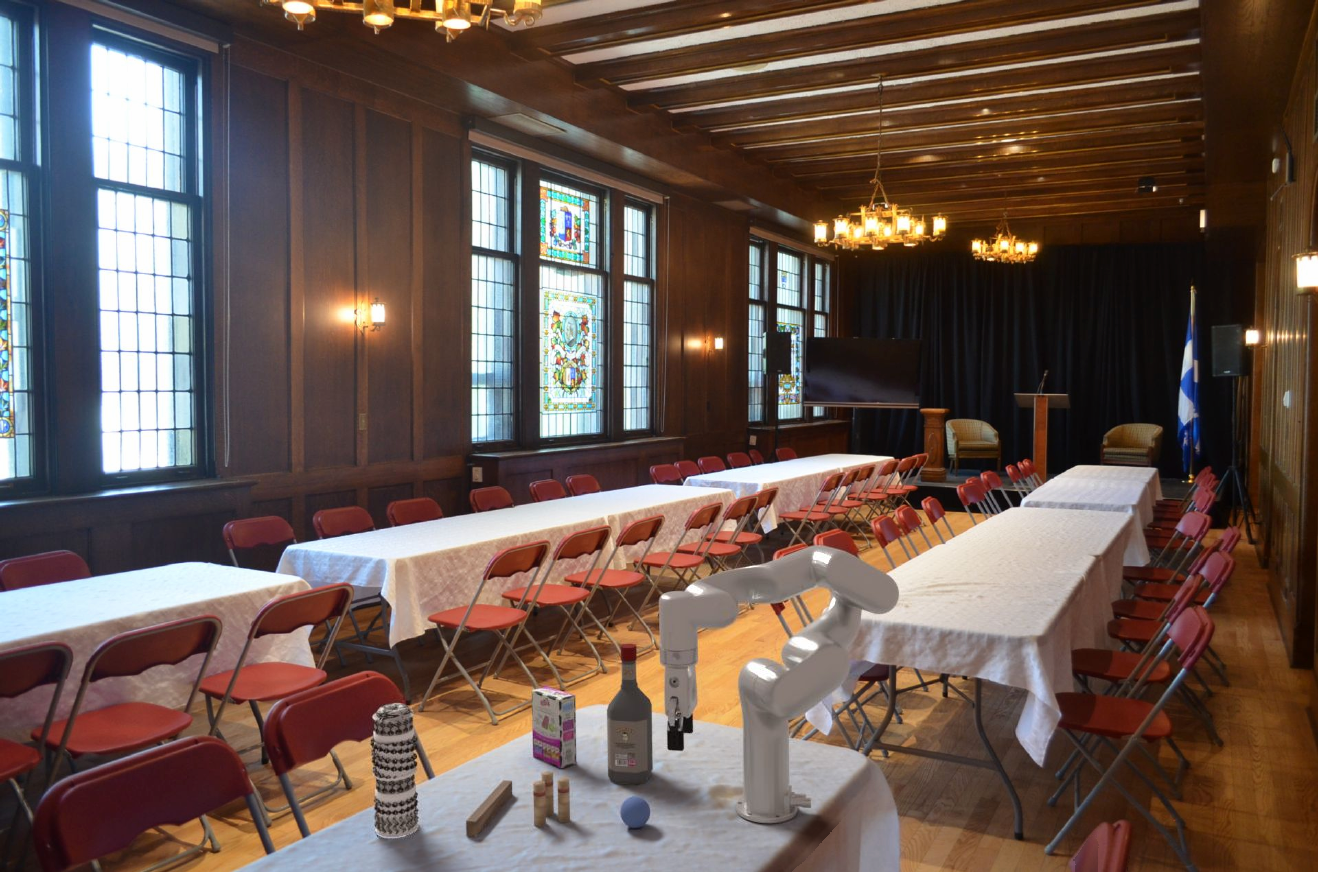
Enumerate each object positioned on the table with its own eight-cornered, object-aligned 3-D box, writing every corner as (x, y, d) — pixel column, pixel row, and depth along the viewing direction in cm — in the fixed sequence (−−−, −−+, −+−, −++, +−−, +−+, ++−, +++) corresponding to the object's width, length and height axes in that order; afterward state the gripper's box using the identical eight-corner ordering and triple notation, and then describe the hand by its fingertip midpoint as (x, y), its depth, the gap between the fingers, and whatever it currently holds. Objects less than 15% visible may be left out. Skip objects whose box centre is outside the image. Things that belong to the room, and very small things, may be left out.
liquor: (646, 785, 216) (643, 652, 214) (605, 783, 217) (603, 650, 216) (654, 769, 225) (652, 641, 223) (615, 767, 226) (613, 639, 225)
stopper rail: (512, 794, 212) (512, 780, 212) (475, 836, 193) (475, 821, 193) (503, 793, 213) (503, 779, 213) (466, 835, 193) (466, 820, 193)
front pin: (571, 818, 200) (570, 777, 200) (568, 823, 198) (567, 782, 197) (560, 817, 201) (559, 776, 200) (556, 822, 198) (555, 781, 198)
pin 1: (547, 821, 199) (546, 780, 198) (543, 827, 196) (542, 785, 196) (536, 820, 199) (535, 779, 199) (532, 826, 197) (531, 784, 196)
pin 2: (555, 811, 204) (554, 771, 203) (551, 816, 201) (550, 775, 201) (544, 810, 204) (543, 770, 204) (540, 815, 202) (539, 774, 201)
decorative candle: (373, 842, 191) (369, 717, 189) (373, 822, 200) (369, 702, 198) (421, 836, 193) (417, 712, 192) (419, 816, 202) (415, 697, 201)
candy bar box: (578, 763, 229) (576, 694, 228) (561, 769, 225) (559, 699, 224) (548, 751, 237) (547, 684, 236) (531, 756, 233) (530, 689, 232)
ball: (653, 820, 198) (652, 792, 198) (646, 834, 193) (646, 804, 192) (624, 818, 200) (624, 789, 199) (617, 831, 194) (616, 802, 193)
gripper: (689, 668, 183) (690, 759, 184) (705, 643, 200) (706, 726, 201) (650, 667, 185) (652, 756, 186) (669, 642, 201) (671, 724, 202)
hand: (680, 740), depth 193 cm, fingers open, 8 cm apart
